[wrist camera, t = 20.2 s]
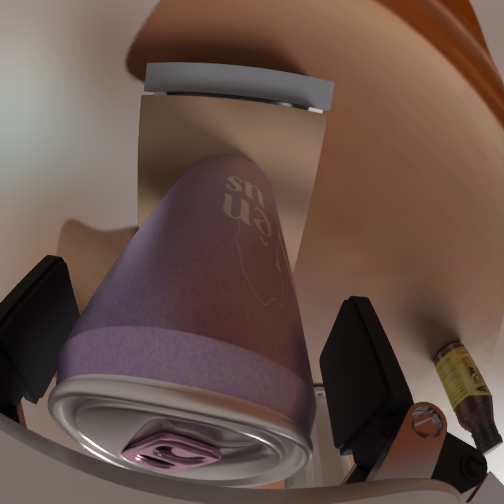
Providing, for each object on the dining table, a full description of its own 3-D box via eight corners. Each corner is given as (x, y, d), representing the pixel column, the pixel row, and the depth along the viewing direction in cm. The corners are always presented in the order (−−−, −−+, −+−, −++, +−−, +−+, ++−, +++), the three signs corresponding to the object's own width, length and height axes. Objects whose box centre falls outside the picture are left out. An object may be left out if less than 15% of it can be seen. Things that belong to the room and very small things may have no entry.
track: (263, 343, 33) (264, 376, 29) (164, 331, 32) (155, 362, 28) (317, 86, 19) (334, 82, 15) (168, 69, 19) (147, 63, 14)
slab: (284, 252, 25) (289, 284, 21) (158, 236, 24) (141, 266, 20) (311, 111, 19) (327, 114, 15) (164, 95, 18) (141, 95, 14)
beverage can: (160, 205, 18) (32, 425, 5) (217, 131, 15) (63, 314, 2) (231, 257, 20) (212, 495, 7) (293, 194, 17) (380, 447, 4)
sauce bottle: (466, 346, 36) (511, 438, 19) (438, 368, 38) (476, 461, 21) (456, 333, 34) (509, 436, 17) (426, 358, 36) (469, 463, 19)
